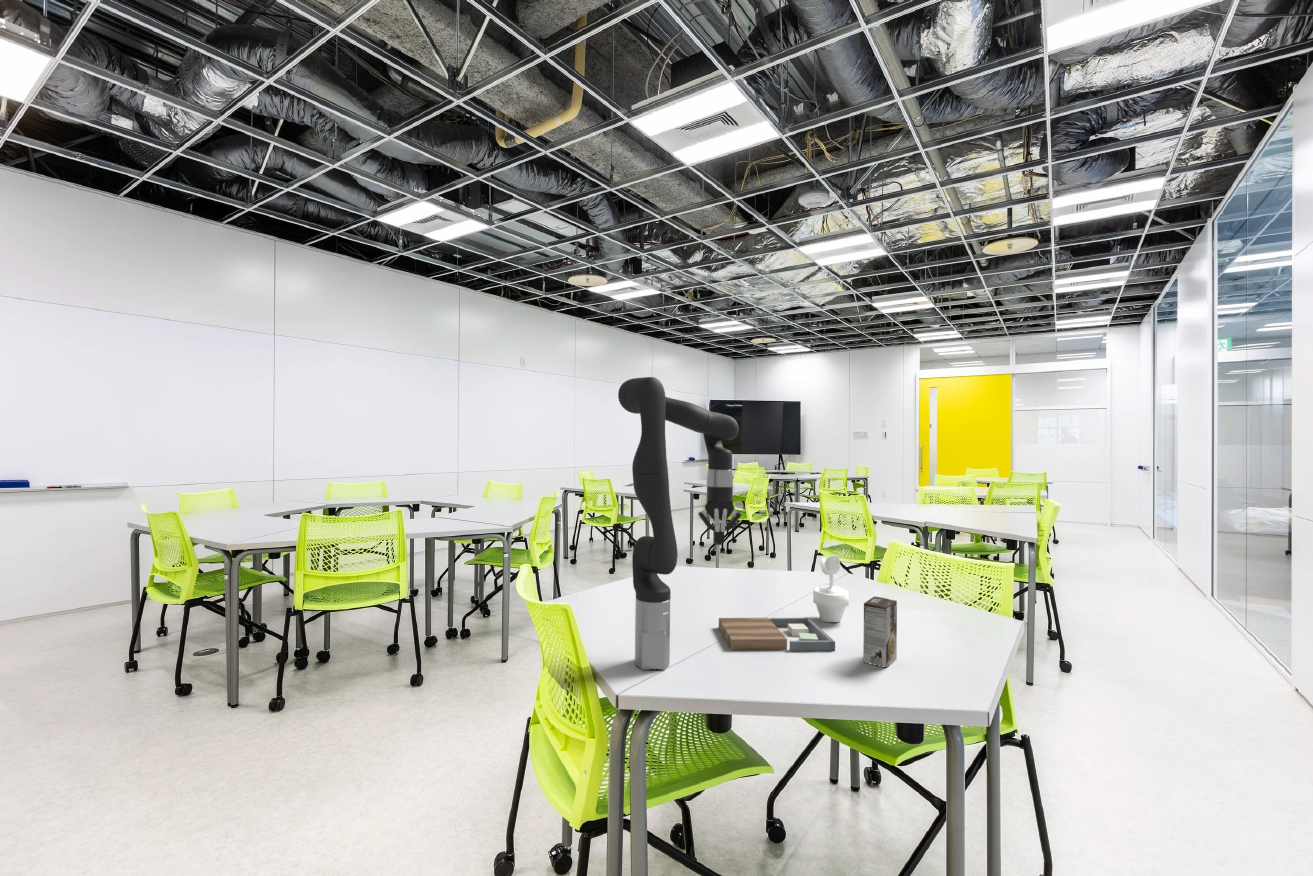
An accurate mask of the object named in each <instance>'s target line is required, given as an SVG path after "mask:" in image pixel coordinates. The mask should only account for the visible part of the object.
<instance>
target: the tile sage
mask: <svg viewBox="0 0 1313 876" xmlns="http://www.w3.org/2000/svg"><path fill="white" fill-rule="evenodd" d="M818 640H819V639H818V638H817V635H816V634H813V633H799V636H798V641H818Z"/></svg>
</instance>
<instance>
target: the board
mask: <svg viewBox="0 0 1313 876" xmlns="http://www.w3.org/2000/svg"><path fill="white" fill-rule="evenodd" d="M718 629H719V631H720V632H721V634H722V636H723V638H724V639H725V641H726V643H727V645H728V647H729V649H730V651H772V650H775V651H781V650H783V651H784V650H785V651H788V638H787V637H786V636H785V635H784V634H783V633H782V631H781V630H780V629H779V627H776V626H775V625H774V624H773V622H772V621H771V620H770V617H719V618H718Z"/></svg>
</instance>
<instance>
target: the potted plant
mask: <svg viewBox="0 0 1313 876" xmlns="http://www.w3.org/2000/svg"><path fill="white" fill-rule="evenodd" d="M844 548H845V547H843V550H842V551H841V553H842V558H844V556H845V554H846V553H845V549H844ZM847 561H848V563H849V564H850V563H851V560H850V557H849V559H848V560H847ZM842 563H843V565H845V564H846V562H845V561H843V562H842ZM819 565H820V567H821V571H822V573H823V574H824V575H826V576H828V575H829V584H828V585H821V586H820V585H819V586H817V587H814V588H813V590H812V591H813V593H812V594H813V595H812V596H813V600H812V601H813V604H815V605H816V609H817V611H818V612H817V613H818V615H819V619H820V620H821V621H823V622H825V621H826V622H825V623H829V622H837V623H840V622H841V621H842V618H843V615H844V613H845V610H846V607H848V606H849V603H850V601H849V600H850V599H849V598H850V597H849V595H850V593H849V591H848V590H846V589H844V588H842V587H839V586H835V576H834V575H835V574H837V573H838V572H839V571H840V568H841V561H840V555H831V556H829V557H827V558H826V557H822V558H821V559H819Z"/></svg>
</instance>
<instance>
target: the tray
mask: <svg viewBox="0 0 1313 876" xmlns="http://www.w3.org/2000/svg"><path fill="white" fill-rule="evenodd" d="M769 619H770V620H771V621H772V622H773V624H774V625H775V626H776V627H777V628H788V624H804V625H805V626H806V627H807V628H808V629H809V632H811V634H816V635H817V638H818V641H799V640H789V650H790V652H824V651H825V652H826V651H827V652H828V651H829V652H830V651H831V652H833V651H836V641H835V640H834V639H833V638H832V637H831V636H830V635H829V634H828V633H826V632H825V631H824V630H823V629H822V628H820V627H819V625H817V624H816V623H815V622H814V621H813V620H812V619H811V618H809V617H769Z"/></svg>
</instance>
